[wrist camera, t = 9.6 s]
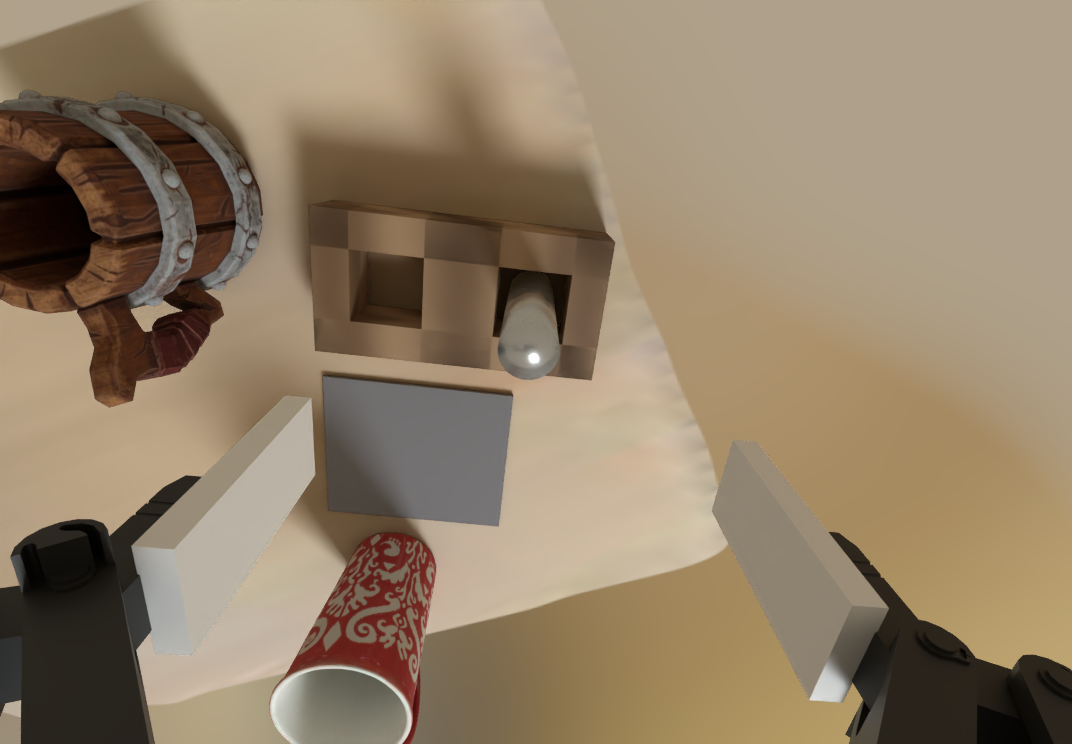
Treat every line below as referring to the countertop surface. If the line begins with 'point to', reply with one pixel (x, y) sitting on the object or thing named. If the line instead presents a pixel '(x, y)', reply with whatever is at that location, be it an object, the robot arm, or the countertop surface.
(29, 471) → the countertop surface
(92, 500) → the countertop surface
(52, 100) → the mug
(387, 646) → the mug
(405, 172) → the countertop surface
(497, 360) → the hole block
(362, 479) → the mat
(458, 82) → the countertop surface
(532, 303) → the peg
